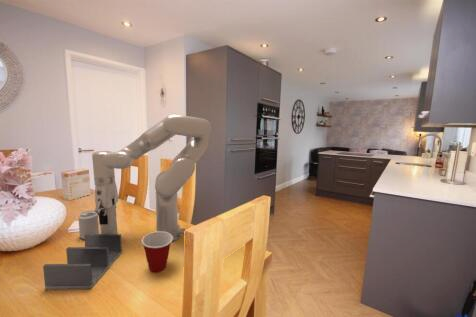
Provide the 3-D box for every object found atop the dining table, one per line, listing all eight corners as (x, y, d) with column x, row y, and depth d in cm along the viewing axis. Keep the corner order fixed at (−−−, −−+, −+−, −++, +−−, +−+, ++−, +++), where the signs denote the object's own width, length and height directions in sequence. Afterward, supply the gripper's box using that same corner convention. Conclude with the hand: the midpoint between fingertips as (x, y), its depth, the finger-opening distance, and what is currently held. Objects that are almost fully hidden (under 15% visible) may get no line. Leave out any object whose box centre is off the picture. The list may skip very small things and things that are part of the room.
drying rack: (121, 252, 92) (121, 234, 91) (90, 288, 71) (89, 265, 70) (87, 252, 91) (85, 234, 90) (45, 289, 70) (43, 266, 69)
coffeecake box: (84, 193, 168) (83, 168, 165) (91, 195, 165) (89, 169, 162) (62, 199, 154) (60, 171, 151) (69, 200, 151) (67, 172, 149)
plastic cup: (155, 282, 75) (154, 248, 73) (135, 270, 80) (134, 239, 79) (179, 265, 84) (179, 235, 82) (160, 256, 90) (160, 228, 88)
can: (89, 241, 100) (87, 216, 98) (75, 239, 101) (73, 214, 100) (102, 233, 107) (101, 210, 105) (89, 232, 108) (88, 208, 107)
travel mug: (101, 246, 93) (96, 201, 90) (102, 239, 99) (98, 196, 96) (118, 242, 96) (114, 198, 93) (118, 236, 102) (114, 194, 99)
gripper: (102, 185, 86) (106, 229, 88) (123, 175, 103) (126, 212, 105) (82, 185, 85) (86, 230, 88) (106, 175, 102) (109, 213, 105)
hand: (108, 220), depth 96 cm, fingers closed on travel mug, 6 cm apart
